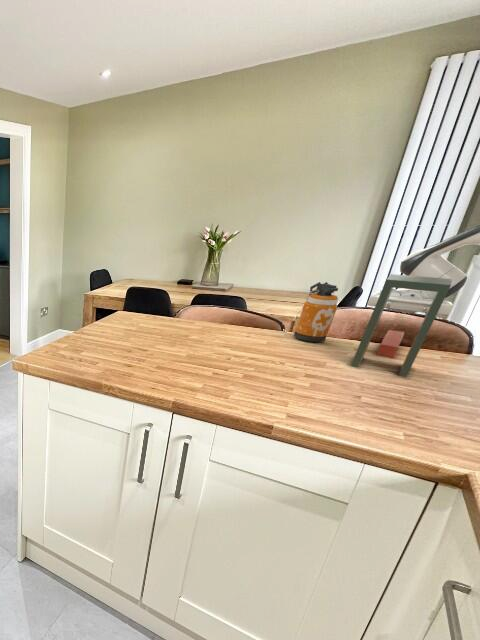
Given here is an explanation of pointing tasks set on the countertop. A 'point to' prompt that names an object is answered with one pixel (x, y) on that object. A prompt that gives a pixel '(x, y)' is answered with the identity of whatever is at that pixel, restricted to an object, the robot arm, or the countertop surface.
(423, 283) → the dark green stand
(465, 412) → the countertop surface
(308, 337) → the canister
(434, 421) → the countertop surface
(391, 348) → the red bar
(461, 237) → the robot arm
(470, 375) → the countertop surface
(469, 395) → the countertop surface
